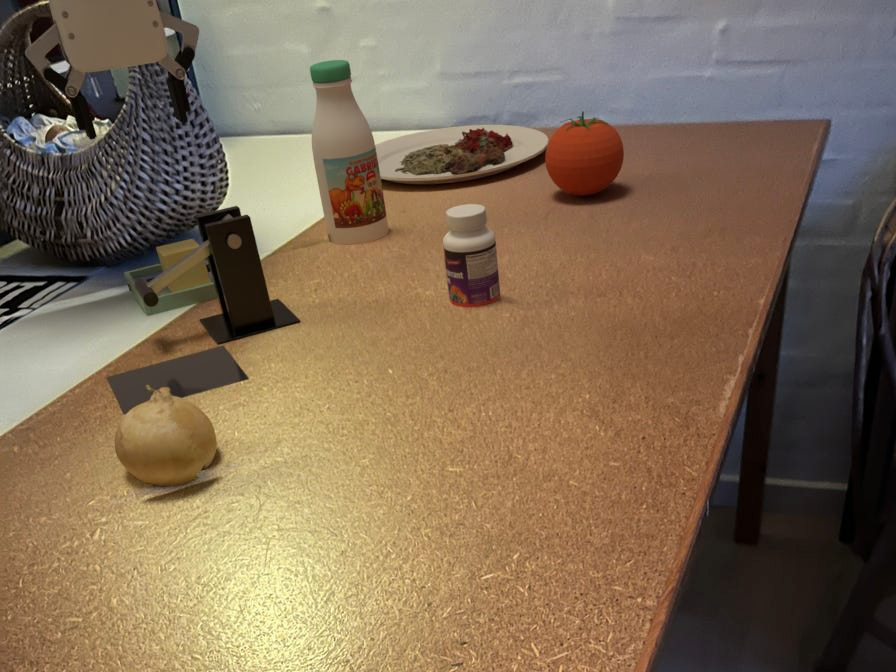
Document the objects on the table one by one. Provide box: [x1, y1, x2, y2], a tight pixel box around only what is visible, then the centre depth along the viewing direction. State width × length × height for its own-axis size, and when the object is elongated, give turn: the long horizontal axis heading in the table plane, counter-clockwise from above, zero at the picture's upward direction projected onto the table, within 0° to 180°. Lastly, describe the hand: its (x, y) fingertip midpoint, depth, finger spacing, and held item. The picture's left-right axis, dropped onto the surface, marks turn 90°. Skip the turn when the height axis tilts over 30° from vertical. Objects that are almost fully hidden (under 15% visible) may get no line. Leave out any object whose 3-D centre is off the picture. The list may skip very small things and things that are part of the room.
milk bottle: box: [309, 59, 389, 246], centre depth 118 cm, size 8×8×20 cm
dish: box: [123, 258, 218, 317], centre depth 115 cm, size 12×12×3 cm
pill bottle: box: [442, 203, 501, 308], centre depth 101 cm, size 5×5×10 cm
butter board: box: [105, 344, 250, 416], centre depth 95 cm, size 12×10×1 cm
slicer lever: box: [134, 214, 233, 307], centre depth 98 cm, size 12×5×2 cm, turn 116°
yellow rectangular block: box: [155, 238, 212, 293], centre depth 113 cm, size 4×4×5 cm
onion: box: [114, 385, 218, 488], centre depth 79 cm, size 8×8×7 cm
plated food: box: [375, 124, 549, 185], centre depth 149 cm, size 30×30×3 cm
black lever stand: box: [194, 205, 301, 346], centre depth 101 cm, size 9×8×12 cm
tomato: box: [544, 111, 625, 197], centre depth 127 cm, size 10×10×10 cm
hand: (137, 128), depth 104 cm, fingers open, 9 cm apart
